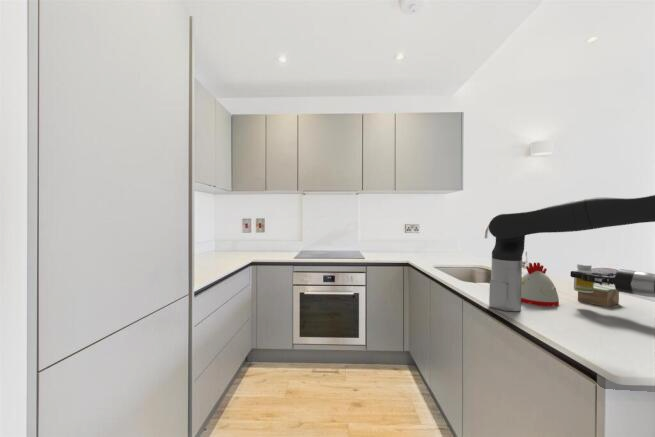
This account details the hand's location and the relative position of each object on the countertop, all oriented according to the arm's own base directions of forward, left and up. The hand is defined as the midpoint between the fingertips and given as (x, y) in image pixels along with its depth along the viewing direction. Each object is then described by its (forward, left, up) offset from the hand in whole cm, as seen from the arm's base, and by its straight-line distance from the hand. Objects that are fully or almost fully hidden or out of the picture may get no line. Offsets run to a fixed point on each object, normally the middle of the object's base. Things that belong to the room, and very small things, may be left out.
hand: (575, 273), depth 110 cm
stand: (+14, -1, -12) cm, 18 cm away
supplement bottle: (0, -3, -6) cm, 7 cm away
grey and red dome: (-8, +9, -12) cm, 17 cm away
